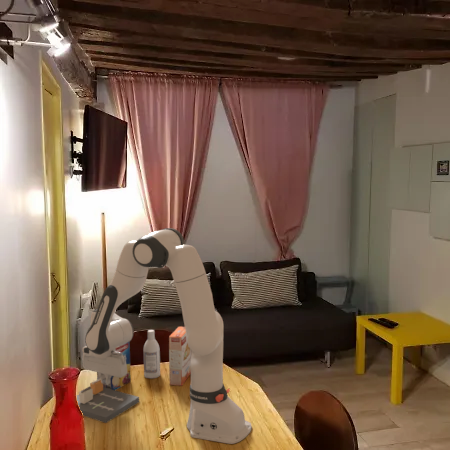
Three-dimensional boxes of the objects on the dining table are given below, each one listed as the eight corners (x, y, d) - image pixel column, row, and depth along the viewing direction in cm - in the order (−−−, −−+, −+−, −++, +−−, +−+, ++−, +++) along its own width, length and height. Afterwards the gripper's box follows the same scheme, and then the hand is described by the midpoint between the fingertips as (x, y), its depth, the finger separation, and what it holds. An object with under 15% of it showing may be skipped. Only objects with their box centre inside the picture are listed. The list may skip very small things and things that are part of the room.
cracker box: (183, 386, 199) (182, 337, 197) (169, 385, 201) (167, 336, 198) (192, 373, 213) (191, 326, 211) (178, 372, 214) (177, 325, 212)
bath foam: (150, 371, 215) (149, 327, 213) (163, 374, 212) (162, 329, 210) (140, 377, 209) (139, 331, 207) (154, 380, 206) (152, 334, 204)
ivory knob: (92, 399, 184) (92, 387, 183) (84, 403, 180) (83, 391, 180) (88, 397, 185) (87, 386, 185) (79, 402, 181) (79, 390, 181)
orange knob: (103, 390, 191) (102, 378, 191) (95, 394, 187) (94, 383, 187) (98, 388, 192) (98, 377, 192) (90, 393, 189) (90, 381, 188)
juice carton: (117, 377, 209) (115, 323, 206) (130, 381, 205) (129, 326, 202) (97, 388, 198) (95, 331, 196) (111, 392, 195) (108, 334, 192)
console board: (139, 402, 186) (139, 396, 186) (105, 423, 171) (105, 417, 170) (96, 389, 197) (96, 385, 197) (61, 408, 182) (61, 403, 181)
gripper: (129, 350, 184) (131, 385, 185) (90, 342, 194) (92, 375, 196) (118, 356, 179) (120, 392, 180) (78, 347, 189) (81, 381, 190)
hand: (105, 383), depth 188 cm, fingers closed
